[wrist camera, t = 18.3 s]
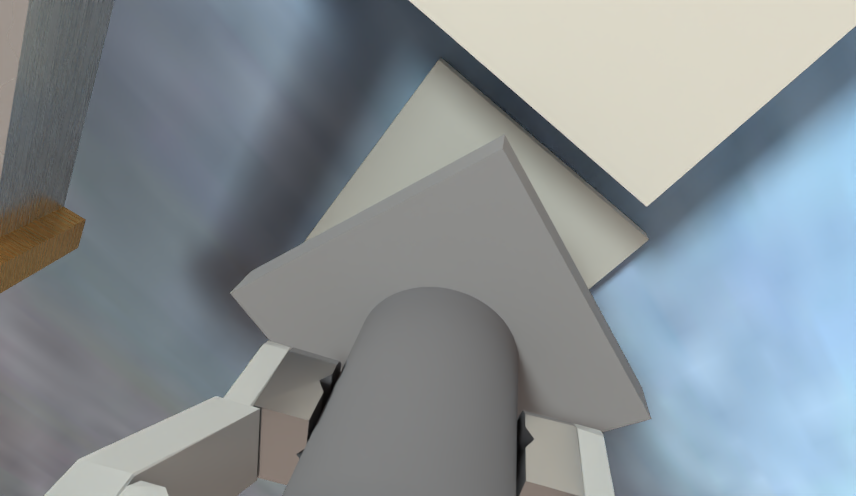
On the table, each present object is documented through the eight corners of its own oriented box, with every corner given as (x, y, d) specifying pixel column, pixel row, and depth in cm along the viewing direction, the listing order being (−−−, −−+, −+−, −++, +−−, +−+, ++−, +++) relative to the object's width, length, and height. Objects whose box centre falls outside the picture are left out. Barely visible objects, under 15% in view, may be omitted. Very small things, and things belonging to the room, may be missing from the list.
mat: (475, 374, 19) (474, 383, 18) (300, 246, 18) (295, 253, 17) (645, 232, 15) (649, 239, 15) (441, 57, 14) (438, 59, 13)
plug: (421, 381, 17) (339, 704, 10) (302, 217, 15) (65, 463, 7) (618, 309, 15) (726, 671, 7) (508, 100, 13) (484, 286, 5)
